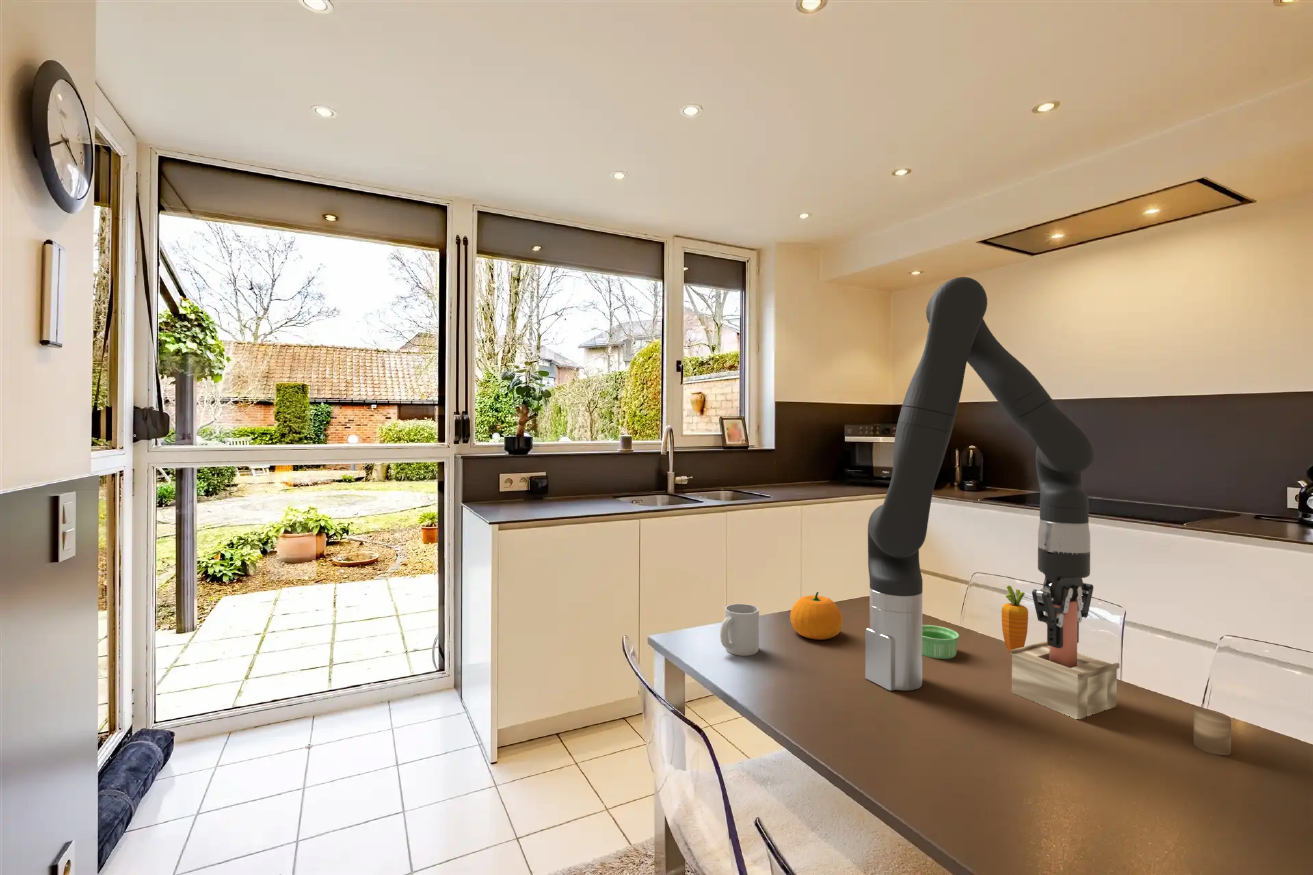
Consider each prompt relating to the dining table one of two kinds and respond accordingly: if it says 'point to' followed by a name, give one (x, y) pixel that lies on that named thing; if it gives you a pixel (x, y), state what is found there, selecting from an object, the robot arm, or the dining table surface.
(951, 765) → the dining table surface
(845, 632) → the dining table surface
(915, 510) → the robot arm
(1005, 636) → the carrot
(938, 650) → the ramekin
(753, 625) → the cup
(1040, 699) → the hole block
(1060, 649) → the long dowel
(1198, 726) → the short dowel
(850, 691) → the dining table surface
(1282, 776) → the dining table surface
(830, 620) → the fruit
